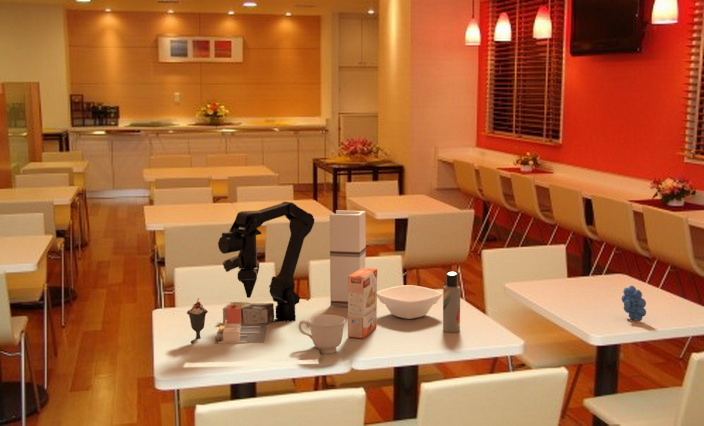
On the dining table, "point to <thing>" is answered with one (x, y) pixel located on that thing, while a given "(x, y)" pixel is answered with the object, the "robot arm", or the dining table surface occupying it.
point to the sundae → (197, 318)
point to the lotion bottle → (451, 303)
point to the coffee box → (254, 312)
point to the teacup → (325, 331)
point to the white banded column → (345, 251)
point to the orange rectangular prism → (233, 314)
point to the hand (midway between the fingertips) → (249, 294)
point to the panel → (244, 334)
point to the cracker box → (362, 302)
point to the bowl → (409, 300)
